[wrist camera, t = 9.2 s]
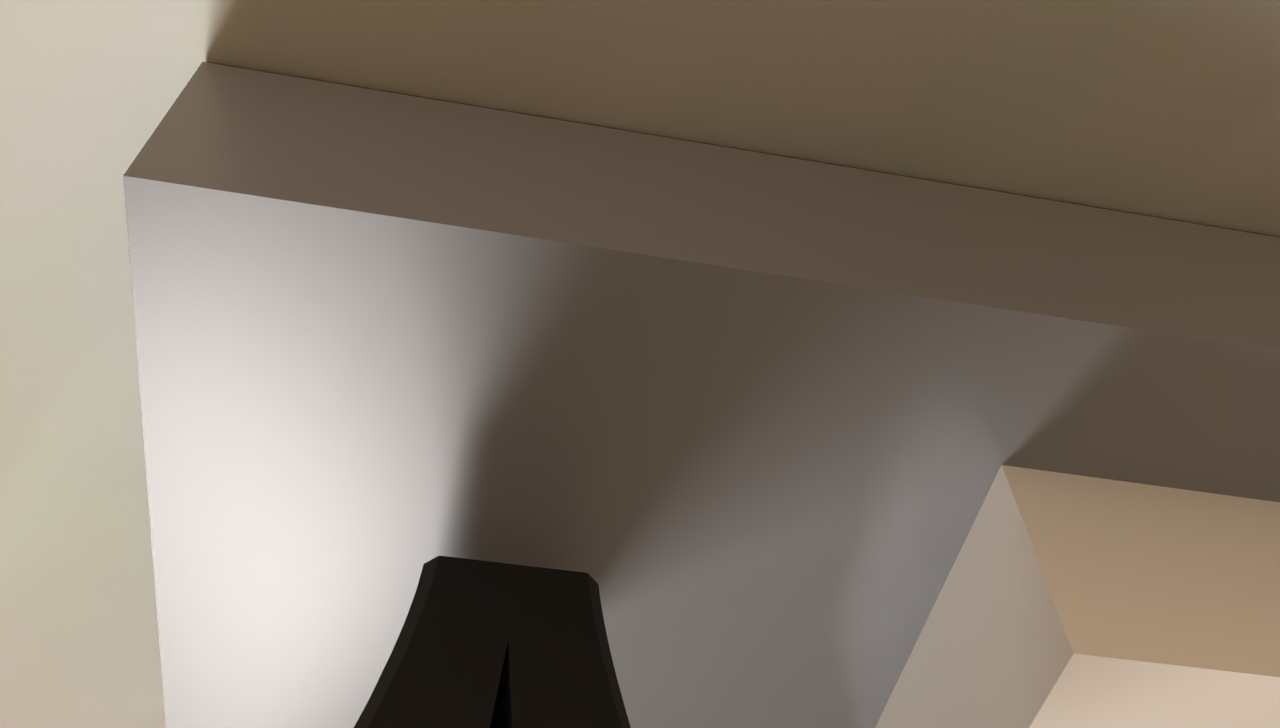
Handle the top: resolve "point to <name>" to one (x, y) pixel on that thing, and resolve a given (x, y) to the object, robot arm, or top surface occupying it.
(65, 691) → the top surface
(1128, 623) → the tile
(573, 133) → the board
